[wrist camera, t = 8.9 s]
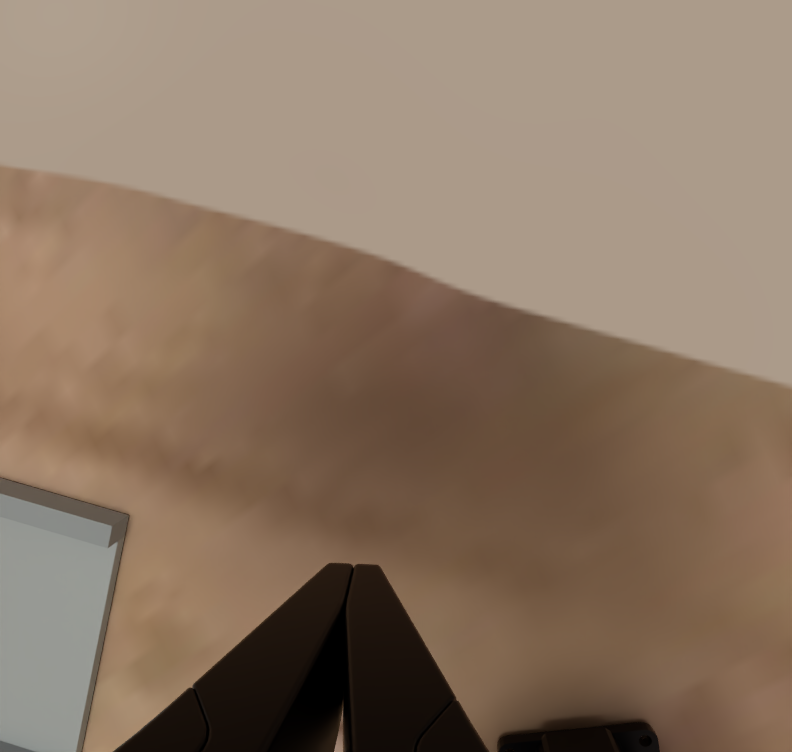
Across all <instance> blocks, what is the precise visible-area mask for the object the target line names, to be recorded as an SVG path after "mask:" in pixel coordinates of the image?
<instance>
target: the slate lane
mask: <svg viewBox="0 0 792 752" xmlns="http://www.w3.org/2000/svg"><path fill="white" fill-rule="evenodd" d="M128 518H129V515H127V514H123V513H120V512H116V511H113V510H110V509H106V508H103V507H99V506H96V505H92V504H89V503H85V502H82V501H78V500H75V499H72V498H68V497H65V496H61V495H58V494H54V493H51V492H47V491H44V490H41V489H37V488H34V487H30V486H27V485H23V484H20V483H16V482H13V481H9V480H6V479H3V478H0V752H82V747H83V742H84V737H85V732H86V727H87V722H88V717H89V712H90V707H91V702H92V697H93V692H94V687H95V682H96V677H97V672H98V667H99V662H100V657H101V652H102V647H103V642H104V637H105V632H106V627H107V622H108V617H109V612H110V607H111V603H112V598H113V593H114V588H115V583H116V578H117V573H118V568H119V563H120V558H121V553H122V548H123V543H124V538H125V533H126V528H127V523H128Z"/></svg>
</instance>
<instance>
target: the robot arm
mask: <svg viewBox="0 0 792 752" xmlns="http://www.w3.org/2000/svg"><path fill="white" fill-rule="evenodd" d="M342 710H343V752H489V750H488V749H487V747H486V746H485V744H484V743H483V741H482V739H481V738H480V736H479V735H478V733H477V731H476V730H475V728H474V727H473V725H472V724H471V722H470V720H469V718H468V717H467V715H466V713H465V711H464V710H463V708H462V706H461V705H460V703H459V701H457V700H456V696H455V695H454V693H453V691H452V690H451V688H450V686H449V684H448V683H447V681H446V679H445V677H444V676H443V674H442V672H441V671H440V669H439V667H438V665H437V664H436V662H435V660H434V659H433V657H432V655H431V653H430V652H429V650H428V648H427V647H426V645H425V643H424V641H423V640H422V638H421V636H420V634H419V633H418V631H417V629H416V628H415V626H414V624H413V622H412V621H411V619H410V617H409V616H408V614H407V612H406V610H405V609H404V607H403V605H402V603H401V602H400V600H399V598H398V597H397V595H396V593H395V591H394V590H393V588H392V586H391V585H390V583H389V581H388V579H387V578H386V576H385V574H384V572H383V571H382V569H381V568H380V566H378V565H371V564H357V565H355V567H354V568H353V565H351V564H347V563H329V564H327V565H326V566H325V567H324V568H322V569H321V570H320V571H319V572H318V573H317V574H316V575H315V576H314V577H312V578H311V579H310V580H309V581H308V582H307V583H306V584H305V585H303V586H302V587H301V588H300V589H299V590H298V591H297V592H296V593H295V594H293V595H292V596H291V597H290V598H289V599H288V600H287V601H286V602H284V603H283V604H282V605H281V606H280V607H279V608H278V609H277V610H276V611H274V612H273V613H272V614H271V615H270V616H269V617H268V618H267V619H265V620H264V621H263V622H262V623H261V624H260V625H259V626H258V627H256V628H255V629H254V630H253V631H252V632H251V633H250V634H249V635H248V636H246V637H245V638H244V639H243V640H242V641H241V642H240V643H239V644H237V645H236V646H235V647H234V648H233V649H232V650H231V651H230V652H229V653H227V654H226V655H225V656H224V657H223V658H222V659H221V660H220V661H218V662H217V663H216V664H215V665H214V666H213V667H212V668H211V669H210V670H208V671H207V672H206V673H205V674H204V675H203V676H202V677H201V678H199V679H198V680H197V681H196V682H195V683H194V684H193V687H192V688H188V689H187V690H186V691H185V692H184V693H182V694H181V695H180V696H179V697H178V698H177V699H176V700H175V701H173V702H172V703H171V704H170V705H169V706H168V707H167V708H165V709H164V710H163V711H162V712H161V713H160V714H158V715H157V716H156V717H155V718H154V719H153V720H151V721H150V722H149V723H148V724H147V725H145V726H144V727H143V728H142V729H141V730H140V731H138V732H137V733H136V734H135V735H134V736H132V737H131V738H130V739H128V740H127V741H126V742H125V743H123V744H122V745H121V746H119V747H118V748H117V749H116V750H114V751H113V752H334V749H335V744H336V740H337V736H338V731H339V726H340V721H341V716H342ZM644 735H647V737H646V738H644V739H639V738H640V737H641V736H644ZM497 749H498V752H507V751H506V750H507V749H513V751H512V752H660V750H659V743H658V738H657V736H656V734H655V732H654V730H653V728H652V727H651V726H650V725H649V724H647V723H643V722H638V723H628V724H619V725H609V726H599V727H589V728H579V729H570V730H560V731H550V732H540V733H531V734H521V735H511V736H505V737H502V738H501V739H500V740H499V742H498V745H497Z"/></svg>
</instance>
